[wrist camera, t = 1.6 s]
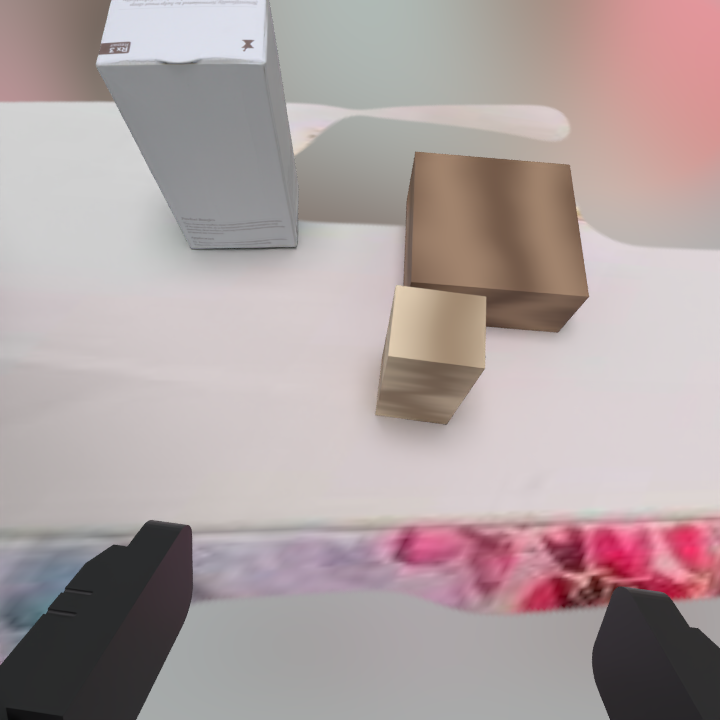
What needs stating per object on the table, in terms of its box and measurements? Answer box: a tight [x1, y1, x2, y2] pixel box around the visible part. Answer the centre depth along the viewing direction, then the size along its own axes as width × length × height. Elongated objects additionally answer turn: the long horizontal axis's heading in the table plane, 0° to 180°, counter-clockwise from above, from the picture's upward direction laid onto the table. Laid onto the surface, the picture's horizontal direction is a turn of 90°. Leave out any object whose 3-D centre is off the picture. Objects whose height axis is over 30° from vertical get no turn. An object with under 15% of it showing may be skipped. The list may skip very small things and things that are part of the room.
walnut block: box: [403, 152, 589, 332], centre depth 35 cm, size 11×11×5 cm
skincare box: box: [96, 0, 299, 249], centre depth 31 cm, size 8×6×15 cm
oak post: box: [375, 285, 486, 424], centre depth 28 cm, size 5×4×9 cm
